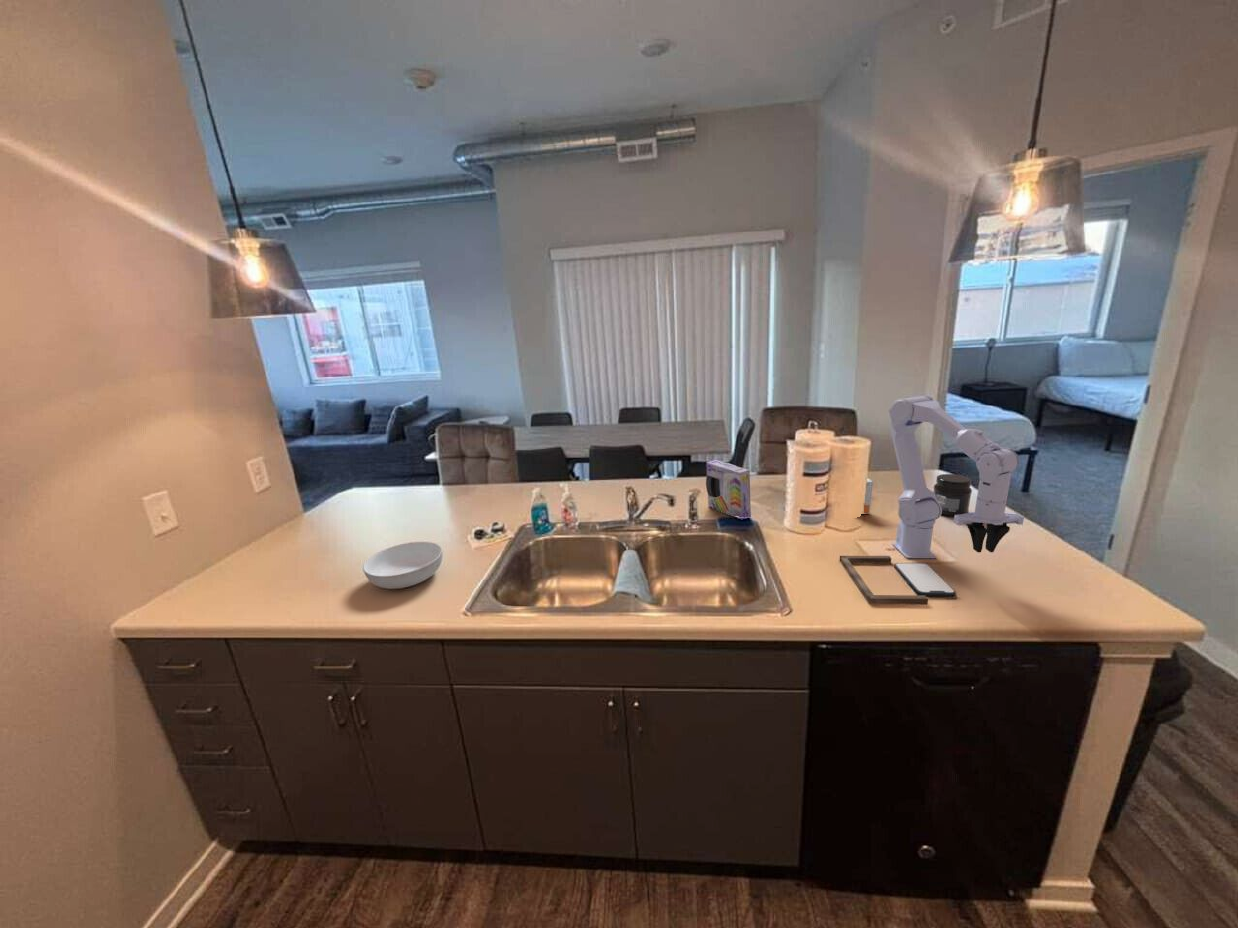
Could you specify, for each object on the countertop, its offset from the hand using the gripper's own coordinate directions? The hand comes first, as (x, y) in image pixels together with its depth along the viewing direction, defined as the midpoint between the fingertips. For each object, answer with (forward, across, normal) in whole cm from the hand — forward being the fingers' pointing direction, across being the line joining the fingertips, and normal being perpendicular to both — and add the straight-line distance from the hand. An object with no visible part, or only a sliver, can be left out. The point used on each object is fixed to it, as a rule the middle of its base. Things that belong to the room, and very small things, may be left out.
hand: (983, 550), depth 122 cm
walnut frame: (+8, -23, 0) cm, 24 cm away
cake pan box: (+9, -57, +48) cm, 75 cm away
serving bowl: (+9, -152, 0) cm, 152 cm away
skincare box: (+9, -13, +46) cm, 49 cm away
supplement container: (+9, +16, +46) cm, 49 cm away
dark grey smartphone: (+9, -13, 0) cm, 16 cm away
